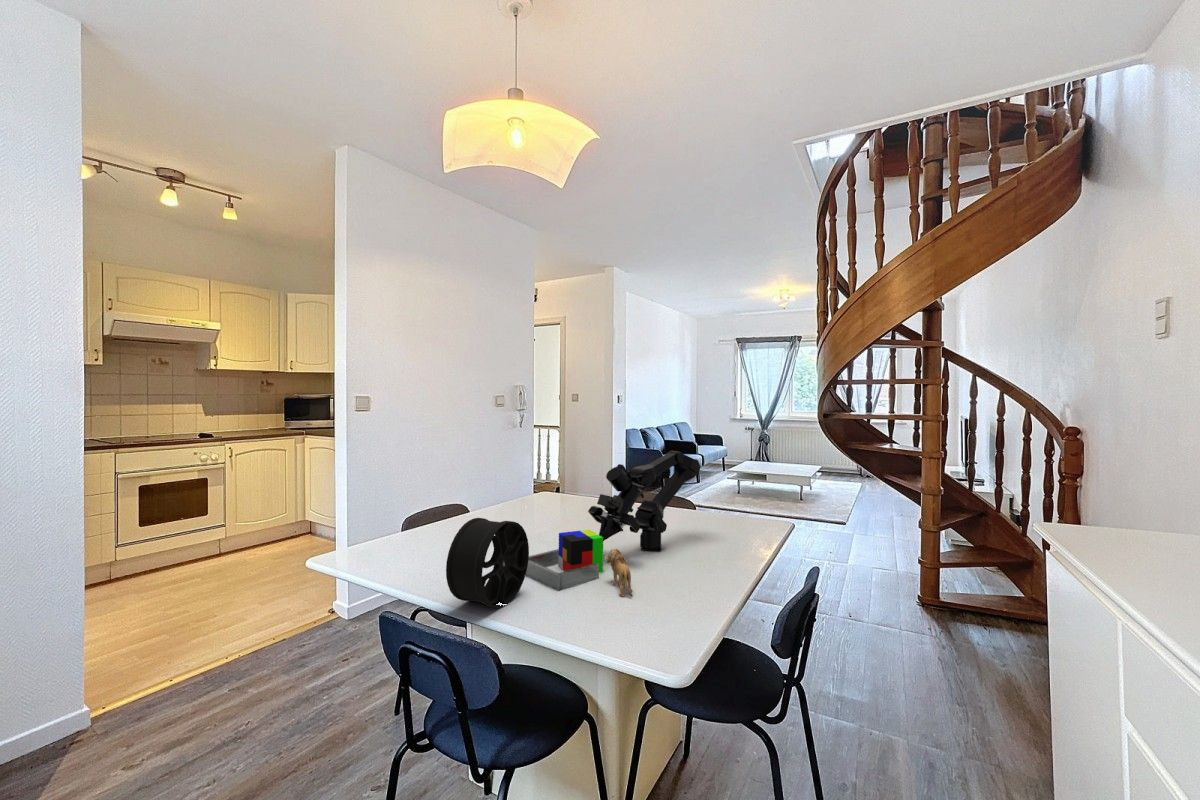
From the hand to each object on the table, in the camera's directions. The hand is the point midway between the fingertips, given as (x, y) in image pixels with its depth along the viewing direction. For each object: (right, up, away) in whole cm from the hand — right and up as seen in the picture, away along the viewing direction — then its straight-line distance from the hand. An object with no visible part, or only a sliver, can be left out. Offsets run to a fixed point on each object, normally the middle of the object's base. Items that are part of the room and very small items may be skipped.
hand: (599, 541), depth 153 cm
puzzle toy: (-6, -7, -5) cm, 10 cm away
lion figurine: (+6, -7, -19) cm, 21 cm away
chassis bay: (-11, -7, -10) cm, 16 cm away
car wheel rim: (-27, -7, -29) cm, 40 cm away
